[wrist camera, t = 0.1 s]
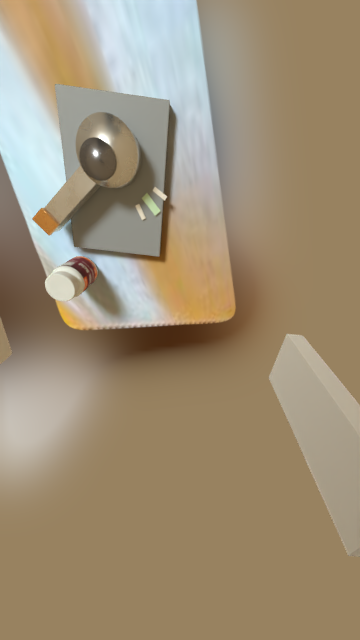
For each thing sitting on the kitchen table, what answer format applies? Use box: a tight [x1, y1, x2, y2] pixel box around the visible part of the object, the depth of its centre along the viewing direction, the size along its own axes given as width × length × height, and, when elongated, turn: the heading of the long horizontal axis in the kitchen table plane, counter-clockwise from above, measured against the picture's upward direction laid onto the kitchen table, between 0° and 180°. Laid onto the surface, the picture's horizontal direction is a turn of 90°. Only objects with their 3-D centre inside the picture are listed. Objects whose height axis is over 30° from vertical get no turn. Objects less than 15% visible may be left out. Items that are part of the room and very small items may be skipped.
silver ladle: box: [33, 112, 142, 235], centre depth 28 cm, size 16×7×4 cm, turn 129°
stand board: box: [55, 84, 170, 257], centre depth 31 cm, size 18×14×2 cm
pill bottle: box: [45, 256, 98, 301], centre depth 34 cm, size 5×5×8 cm
